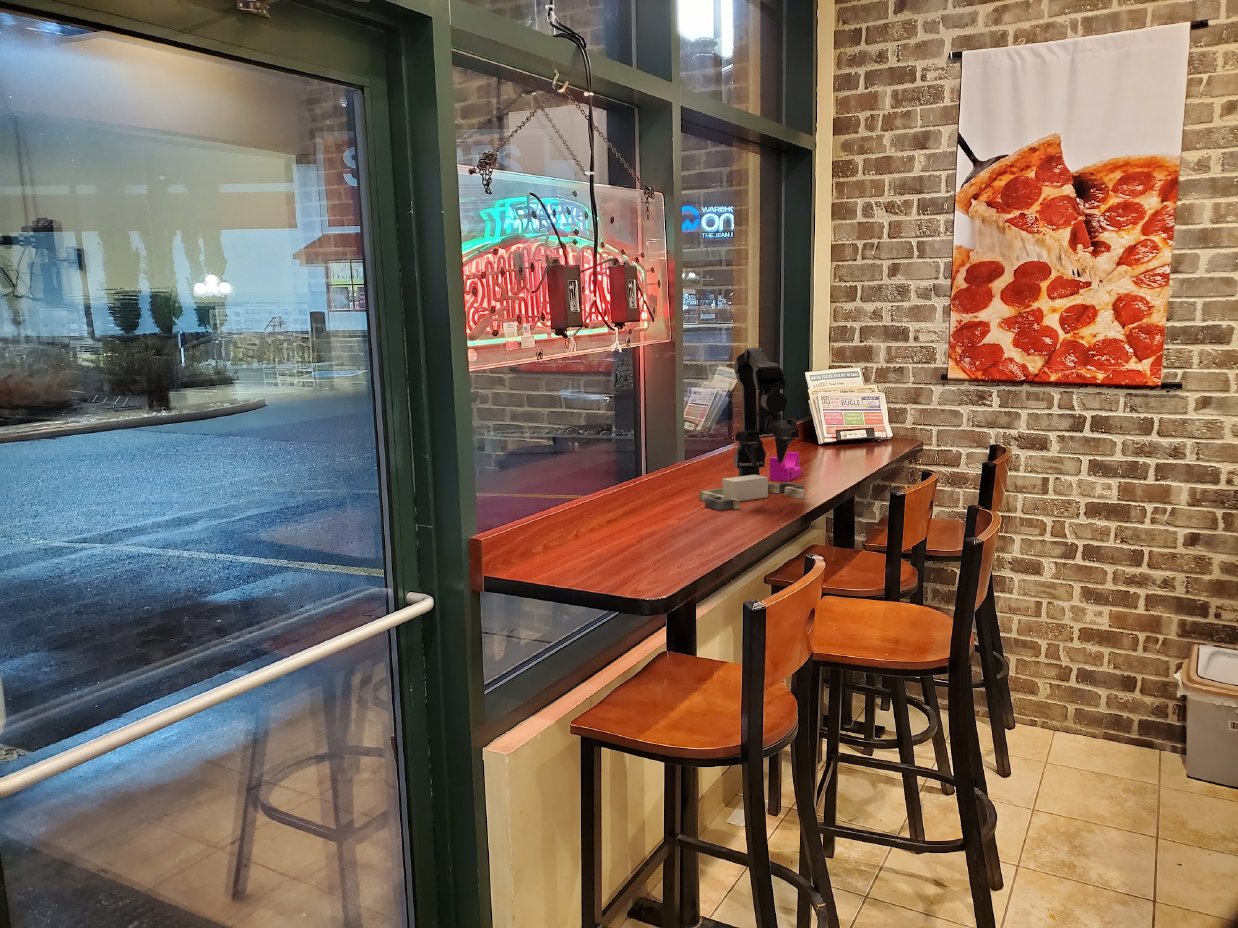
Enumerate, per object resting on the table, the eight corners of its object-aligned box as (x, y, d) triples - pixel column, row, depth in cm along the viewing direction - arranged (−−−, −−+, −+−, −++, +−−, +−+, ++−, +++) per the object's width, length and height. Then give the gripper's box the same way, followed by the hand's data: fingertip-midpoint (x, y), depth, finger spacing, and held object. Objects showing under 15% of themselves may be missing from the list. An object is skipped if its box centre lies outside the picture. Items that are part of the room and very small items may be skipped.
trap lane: (686, 501, 269) (686, 492, 269) (778, 488, 286) (778, 480, 285) (722, 511, 254) (722, 502, 254) (816, 496, 271) (816, 488, 271)
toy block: (787, 482, 296) (787, 459, 295) (769, 481, 300) (769, 458, 298) (806, 475, 308) (806, 453, 307) (788, 474, 312) (788, 451, 311)
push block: (722, 499, 272) (722, 478, 271) (755, 494, 278) (755, 474, 277) (734, 502, 267) (734, 481, 266) (767, 497, 273) (767, 477, 272)
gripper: (759, 414, 250) (759, 471, 252) (812, 409, 259) (812, 464, 262) (734, 411, 259) (734, 466, 262) (786, 406, 269) (785, 459, 271)
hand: (767, 464), depth 264 cm, fingers open, 9 cm apart
